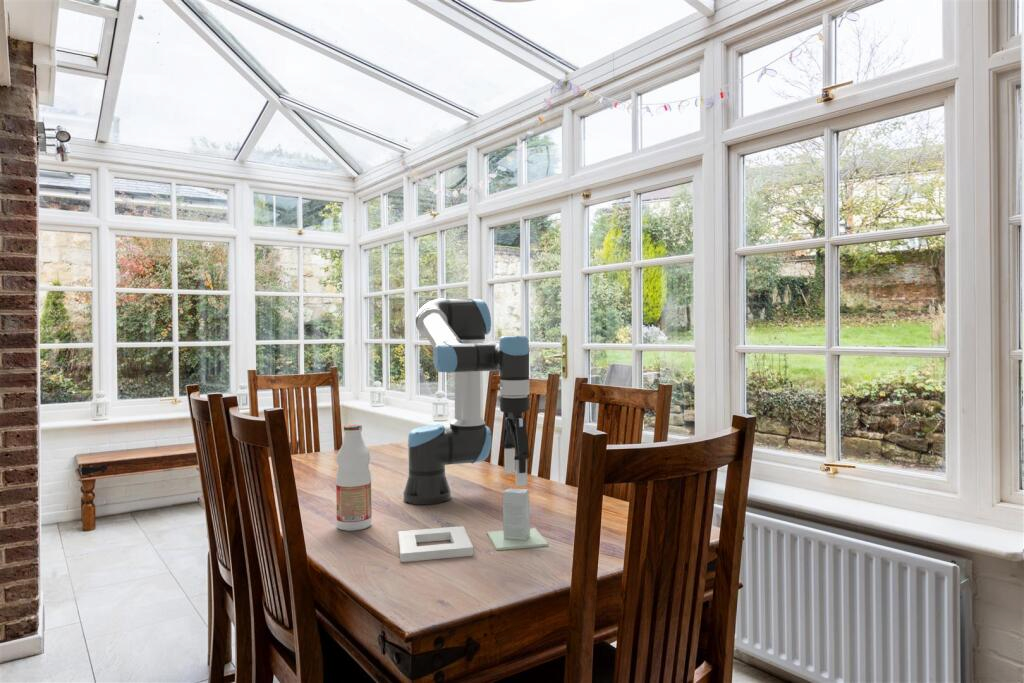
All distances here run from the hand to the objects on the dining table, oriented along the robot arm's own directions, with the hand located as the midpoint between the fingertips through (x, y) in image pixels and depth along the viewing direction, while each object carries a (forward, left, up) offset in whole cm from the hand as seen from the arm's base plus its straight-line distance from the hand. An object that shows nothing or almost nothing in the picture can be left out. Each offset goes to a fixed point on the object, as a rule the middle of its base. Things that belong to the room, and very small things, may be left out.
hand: (515, 479), depth 157 cm
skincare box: (0, 0, -15) cm, 15 cm away
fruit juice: (-23, -41, -16) cm, 49 cm away
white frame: (0, -21, -15) cm, 26 cm away
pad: (0, 0, -15) cm, 15 cm away
